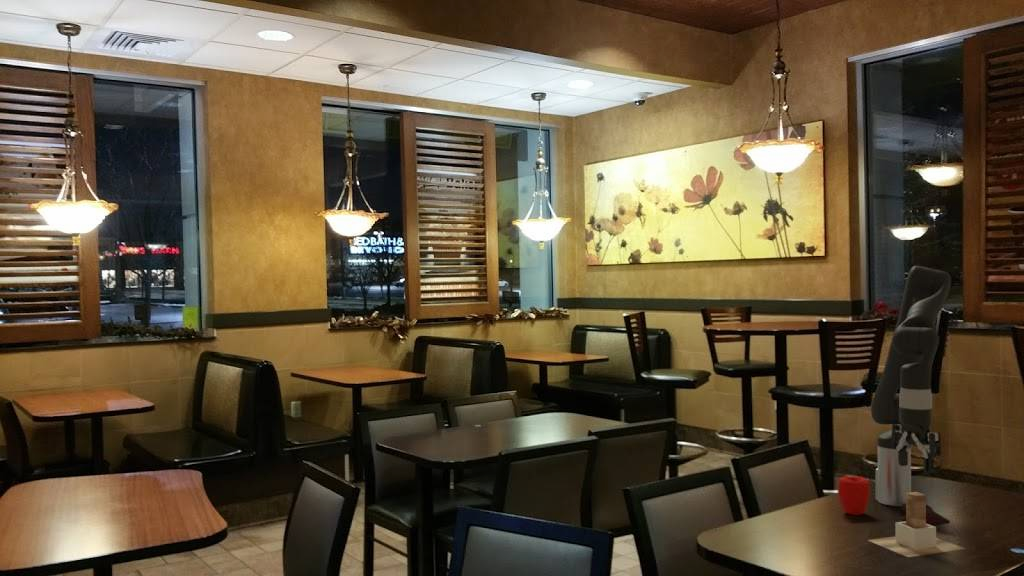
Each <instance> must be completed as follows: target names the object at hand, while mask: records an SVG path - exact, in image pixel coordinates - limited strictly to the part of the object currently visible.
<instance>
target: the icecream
mask: <svg viewBox="0 0 1024 576" xmlns="http://www.w3.org/2000/svg"><path fill="white" fill-rule="evenodd" d="M900 507H901V510H902V511H904V512H906V503H903V504H902V505H901V506H900ZM899 520H900V522H904V521H906V515H905V516H901V517H900V519H899ZM950 523H951V520H949V519H948V518H946V517H944V516H942V515H941V514H939V513H937V512H935V510H933V508H932V507H931V506H929V504H926V524H929V525H931V526H934V527H936V526H937V527H938V526H942V525H948V524H950Z"/></svg>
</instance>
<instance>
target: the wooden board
mask: <svg viewBox="0 0 1024 576" xmlns="http://www.w3.org/2000/svg"><path fill="white" fill-rule="evenodd" d="M867 541H868V542H870V543H873V544H875V545H878V546H880V547H882V548H885V549H887V550H889V551H892V552H895V553H896V554H899V555H902V556H904V557H906V558H912V557H919V556H926V555H927V556H928V555H934V554H941V553H947V552H956V551H961V550H966V548H965V547H962V546H961V545H960V546H959V545H956V544H954V543H951V542H948V541H946V540H944V539H942V538H941V539H940V538H938V537H936V547H932V548H925V549H917V550H914V549H912V548H909V547H907V546H904V545H902V544H899V543H897V542H896V536H889V537H888V536H887V537H881V538H873V539H867Z"/></svg>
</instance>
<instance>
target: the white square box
mask: <svg viewBox="0 0 1024 576" xmlns="http://www.w3.org/2000/svg"><path fill="white" fill-rule="evenodd" d="M894 529H895V536H896V542H897V543H899V544H902V545H904V546H907V547H909V548H912V549H914V550H917V549H925V548H932V547H936V538H937V527H936V526H931V525H929V524H926V527H925V528H917V529H914V528H912V527H909V526H906V521H898V522H895V527H894Z"/></svg>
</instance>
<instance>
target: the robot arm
mask: <svg viewBox="0 0 1024 576" xmlns="http://www.w3.org/2000/svg"><path fill="white" fill-rule="evenodd" d="M951 283H952V277H951V274H950V273H948V272H946V271H944V270H939V269H934V268H930V267H926V266H922V265H914V266H912V267H911V268H910V270H909V272H908V274H907V278H906V281H905V285H904V286H905V287H904V290H903V295H902V300H901V304H900V311H899V314H898V318H897V322H896V325H895V328H894V332H893V335H892V337H891V341H890V344H889V349H888V353H887V357H886V361H885V364H884V368H883V371H882V375H881V376H880V380H879V383H878V384H877V387H876V390H875V392H874V395H873V397H872V402H871V406H870V414H871V418H872V419H873V421H874V422H875V423H876V424H878V425H892V426H891V428H890V429H888V431H885V432H884V433H882V434H879V435H878V437H877V468H875V471H874V472H875V500H876V501H878V502H879V503H880V504H883V505H886V506H891V507H901V505H902V504H903V503H906V493H911V492H912V462H911V461H912V455H911V453H912V452H911V450H912V449H911V448H912V446H914V447H917V448H918V450H919V451H921V453H922V454H923V456H924V458H923V473H925V474H933V473H934V471H935V458H939V457H942V441H941V433H940V432H931V431H930V430H931V429H930V427H931V425H932V424H933V395H932V368H933V363H934V359H935V357H936V353H937V350H938V347H939V342H940V337H939V334H938V332H937V331H936V330H935V326H936V323H937V322H936V321H937V318H938V315H939V313H940V311H942V308H943V306H944V304H945V302H946V300H947V298H948V295H949V291H950V287H951ZM915 299H916V300H919V301H917V302H916V301H915ZM898 390H899V393H897V392H898Z"/></svg>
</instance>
